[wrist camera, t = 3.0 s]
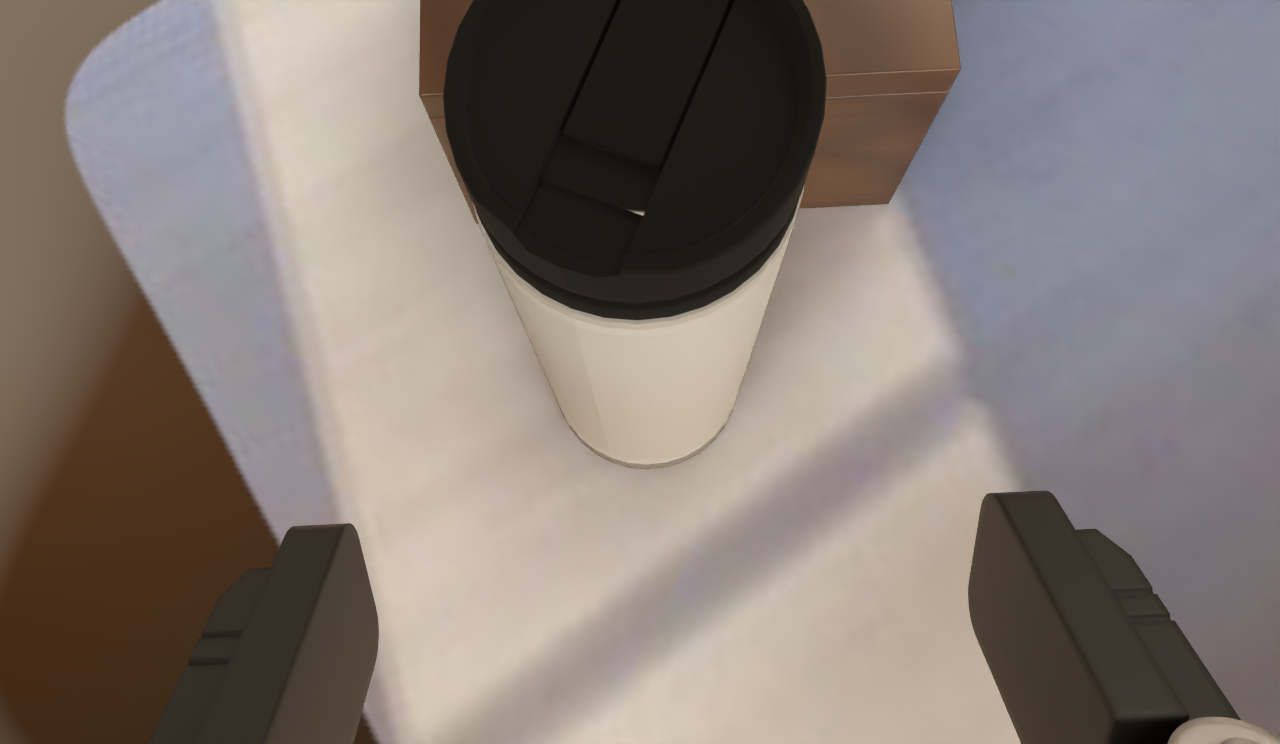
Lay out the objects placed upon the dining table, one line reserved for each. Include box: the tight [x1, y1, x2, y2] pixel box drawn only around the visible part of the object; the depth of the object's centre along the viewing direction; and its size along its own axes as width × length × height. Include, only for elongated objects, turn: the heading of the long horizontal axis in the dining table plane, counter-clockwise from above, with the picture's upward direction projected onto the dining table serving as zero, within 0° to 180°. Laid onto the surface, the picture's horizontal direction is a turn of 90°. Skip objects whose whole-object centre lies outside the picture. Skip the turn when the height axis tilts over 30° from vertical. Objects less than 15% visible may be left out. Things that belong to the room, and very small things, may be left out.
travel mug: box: [443, 0, 827, 469], centre depth 25 cm, size 6×7×20 cm
